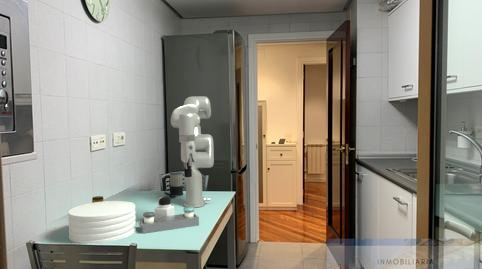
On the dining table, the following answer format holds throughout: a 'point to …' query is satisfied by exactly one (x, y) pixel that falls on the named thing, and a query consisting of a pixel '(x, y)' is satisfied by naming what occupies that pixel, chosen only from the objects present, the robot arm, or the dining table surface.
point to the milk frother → (174, 184)
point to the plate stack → (101, 221)
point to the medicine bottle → (164, 207)
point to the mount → (168, 223)
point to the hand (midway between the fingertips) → (188, 176)
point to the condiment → (97, 199)
